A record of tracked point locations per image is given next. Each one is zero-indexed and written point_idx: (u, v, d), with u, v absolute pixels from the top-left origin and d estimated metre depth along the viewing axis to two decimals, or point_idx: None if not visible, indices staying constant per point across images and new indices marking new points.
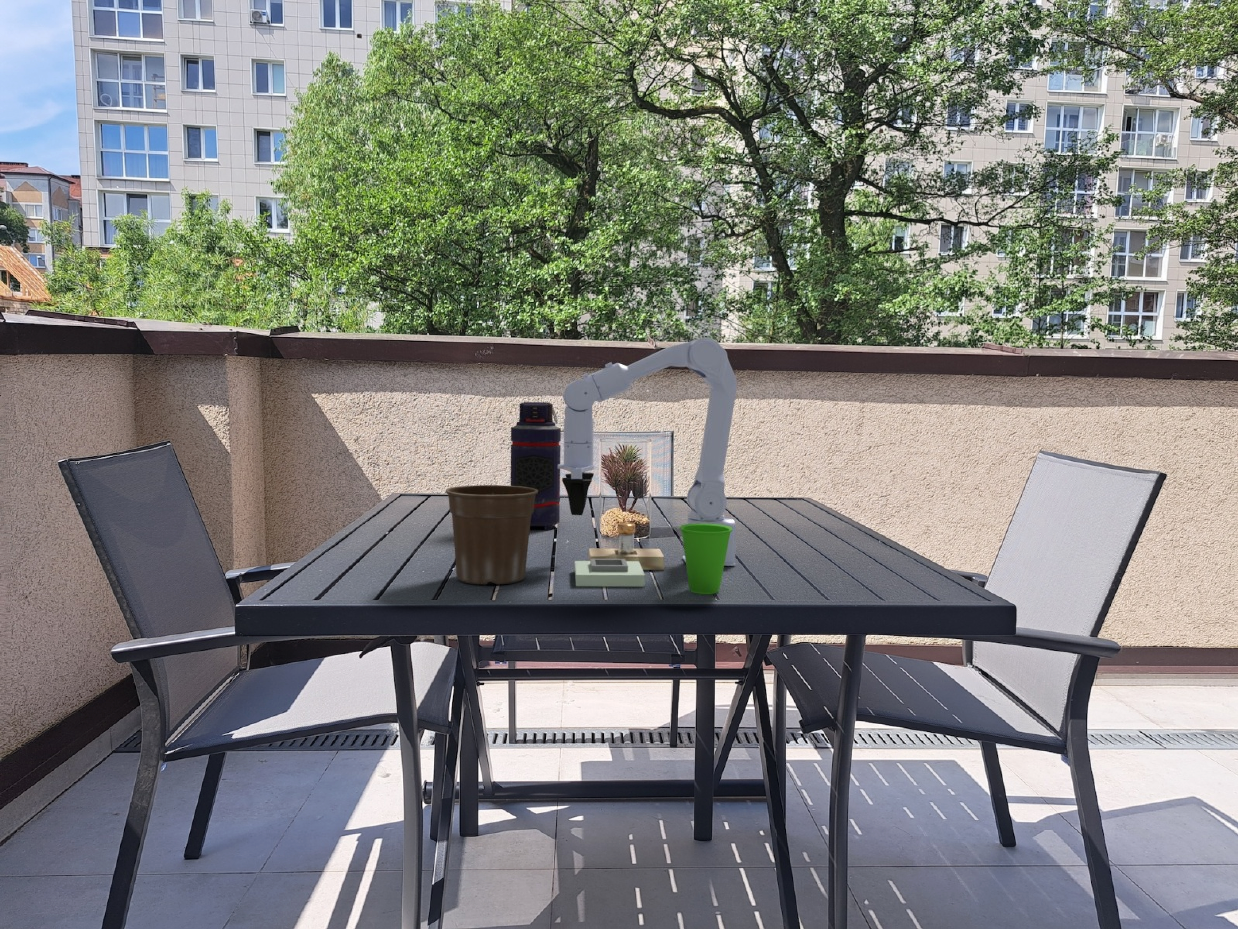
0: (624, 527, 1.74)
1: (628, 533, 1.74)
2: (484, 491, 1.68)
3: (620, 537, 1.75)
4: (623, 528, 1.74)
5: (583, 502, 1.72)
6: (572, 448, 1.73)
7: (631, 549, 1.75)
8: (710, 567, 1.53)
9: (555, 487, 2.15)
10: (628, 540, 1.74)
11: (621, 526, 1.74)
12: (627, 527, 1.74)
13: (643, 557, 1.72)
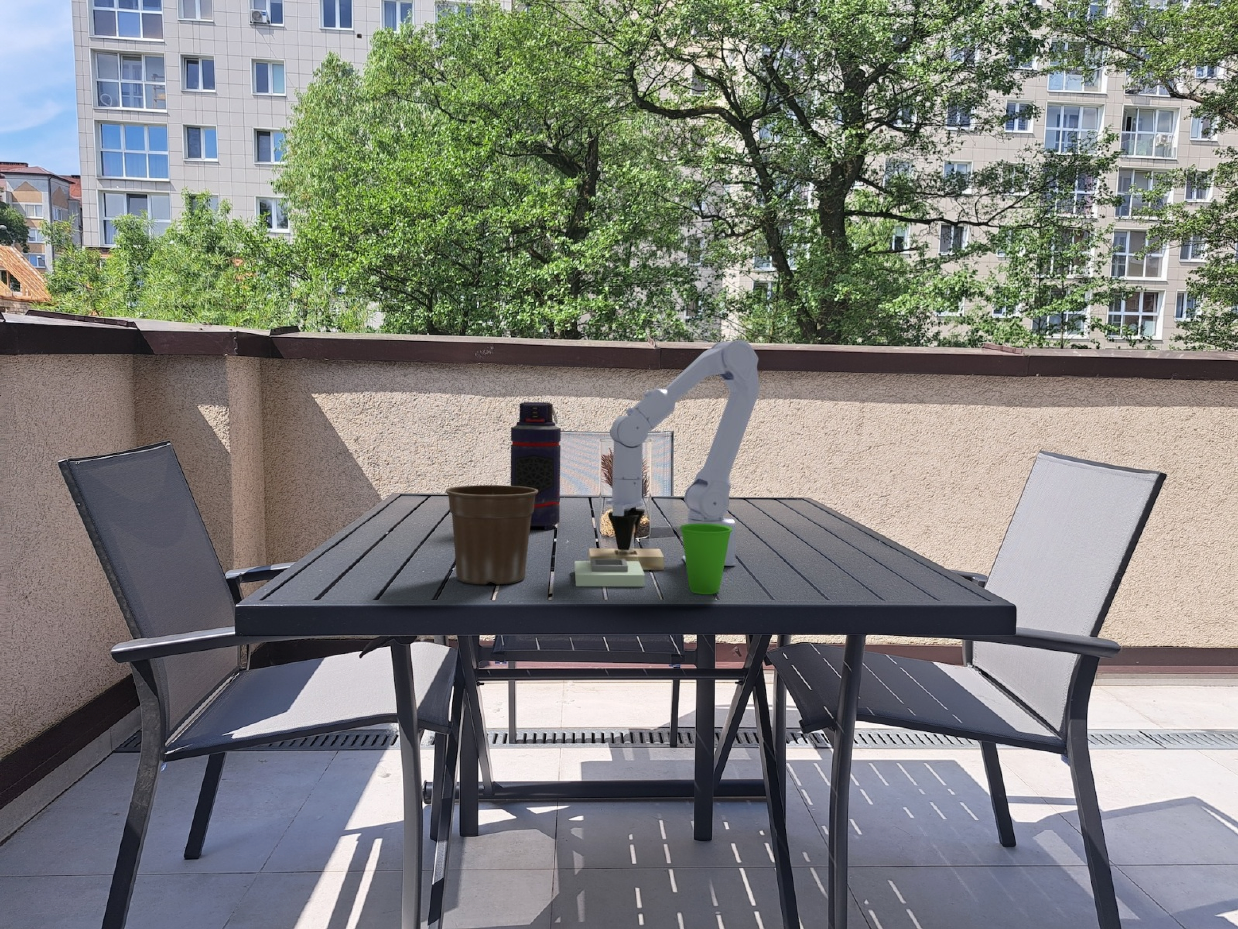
0: None
1: None
2: (484, 491, 1.68)
3: None
4: None
5: (629, 537, 1.73)
6: (619, 484, 1.73)
7: (631, 549, 1.75)
8: (710, 567, 1.53)
9: (555, 487, 2.15)
10: None
11: None
12: None
13: (643, 557, 1.72)
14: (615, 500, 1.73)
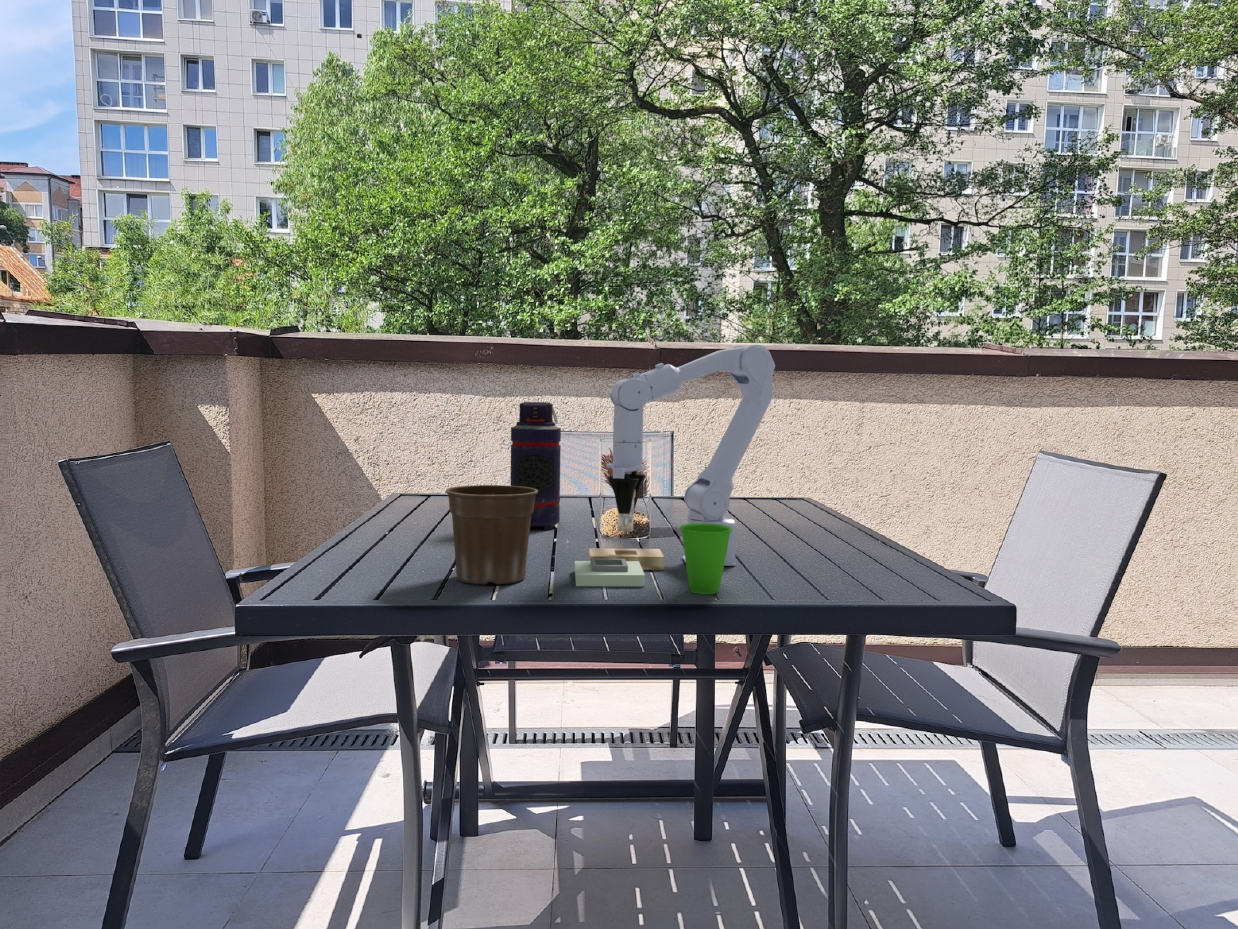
0: None
1: None
2: (484, 491, 1.68)
3: None
4: None
5: (629, 501, 1.72)
6: (619, 448, 1.72)
7: (631, 514, 1.74)
8: (710, 567, 1.53)
9: (555, 487, 2.15)
10: None
11: None
12: None
13: (643, 557, 1.72)
14: (615, 464, 1.73)
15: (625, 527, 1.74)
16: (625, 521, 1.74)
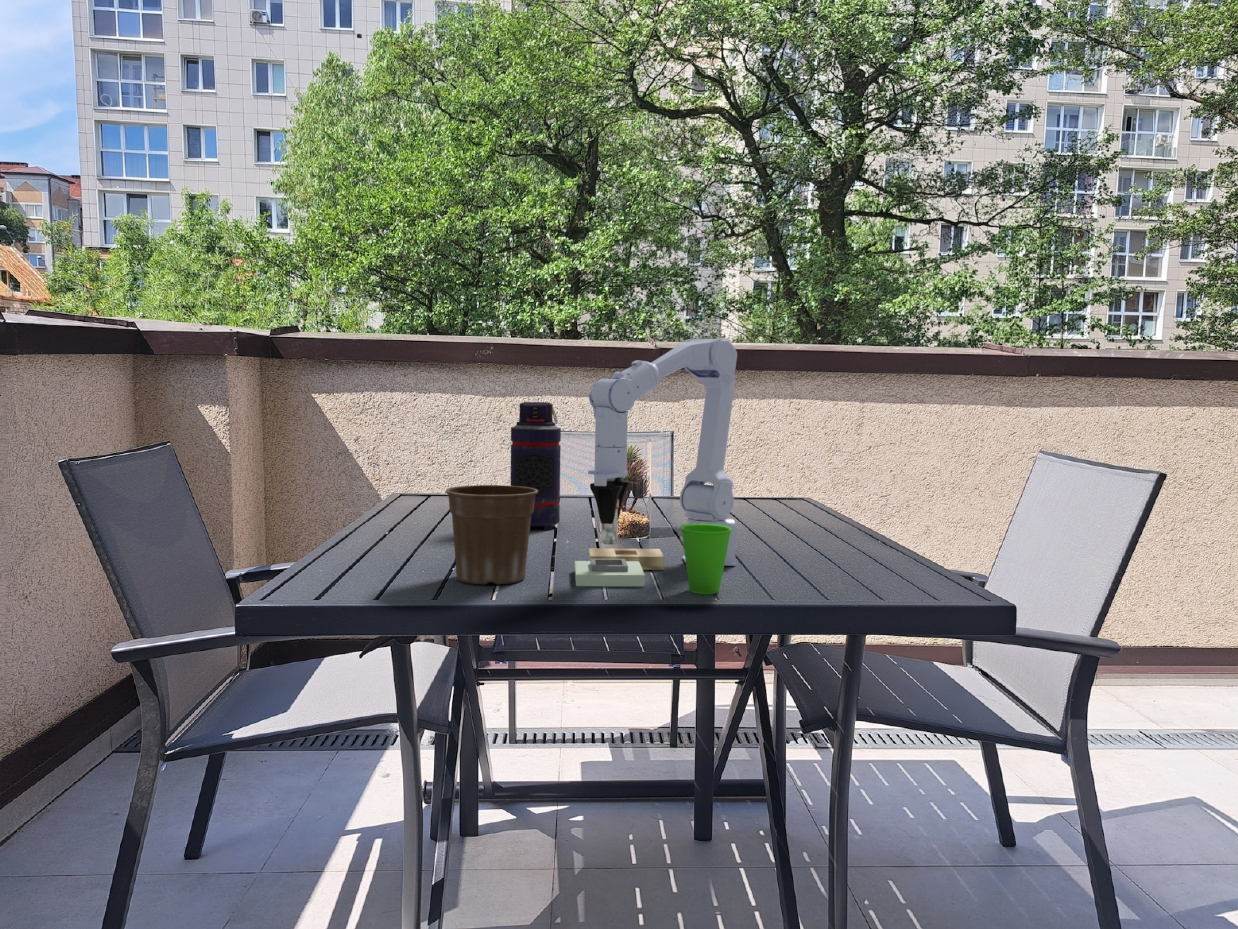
0: None
1: None
2: (484, 491, 1.68)
3: None
4: None
5: (612, 510, 1.60)
6: (601, 453, 1.60)
7: (614, 525, 1.62)
8: (710, 567, 1.53)
9: (555, 487, 2.15)
10: None
11: None
12: None
13: (643, 557, 1.72)
14: (598, 470, 1.60)
15: (608, 539, 1.62)
16: (608, 534, 1.62)
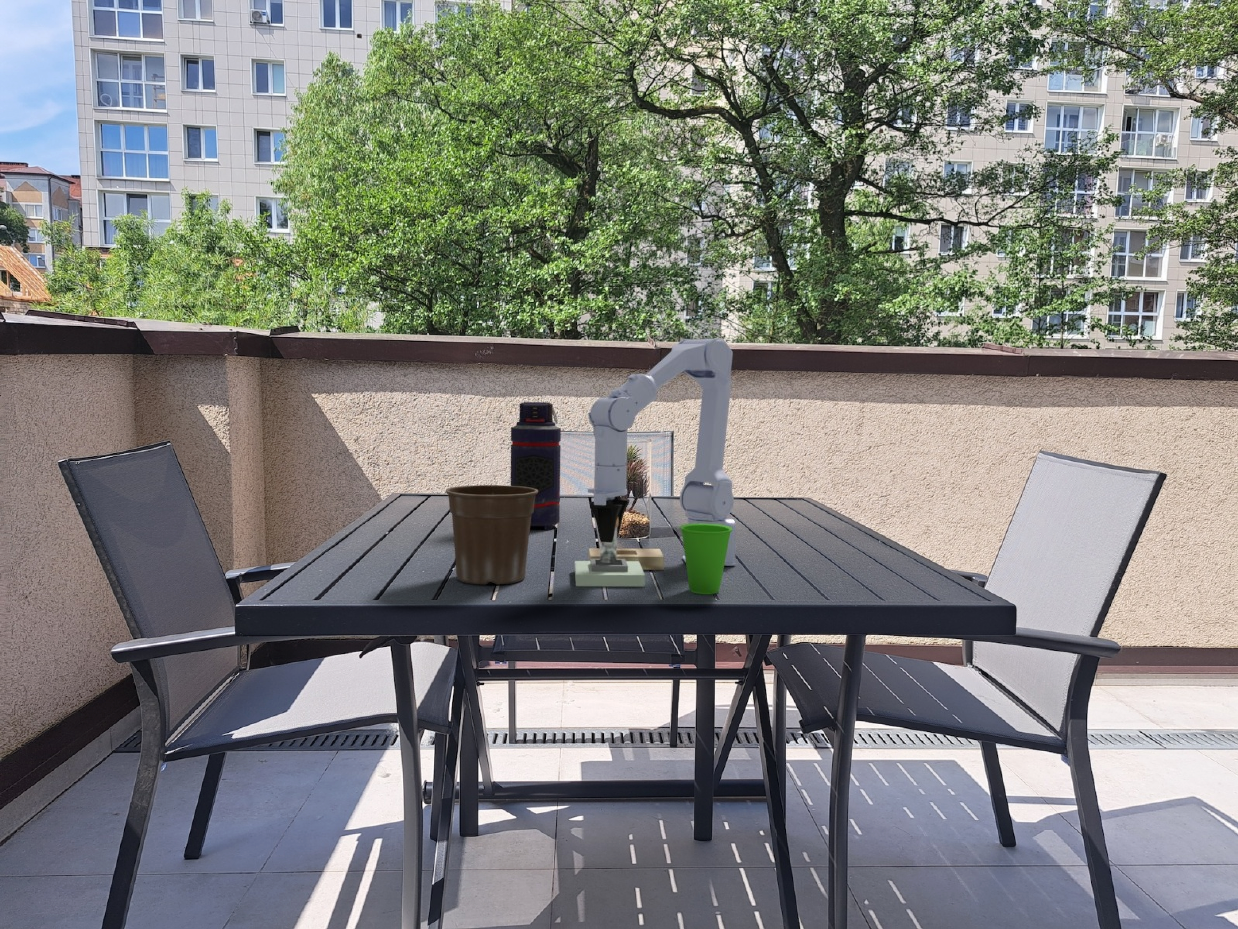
0: None
1: None
2: (484, 491, 1.68)
3: None
4: None
5: (612, 529, 1.60)
6: (601, 471, 1.60)
7: (614, 544, 1.63)
8: (710, 567, 1.53)
9: (555, 487, 2.15)
10: None
11: None
12: None
13: (643, 557, 1.72)
14: (597, 488, 1.61)
15: (607, 558, 1.62)
16: (607, 552, 1.62)
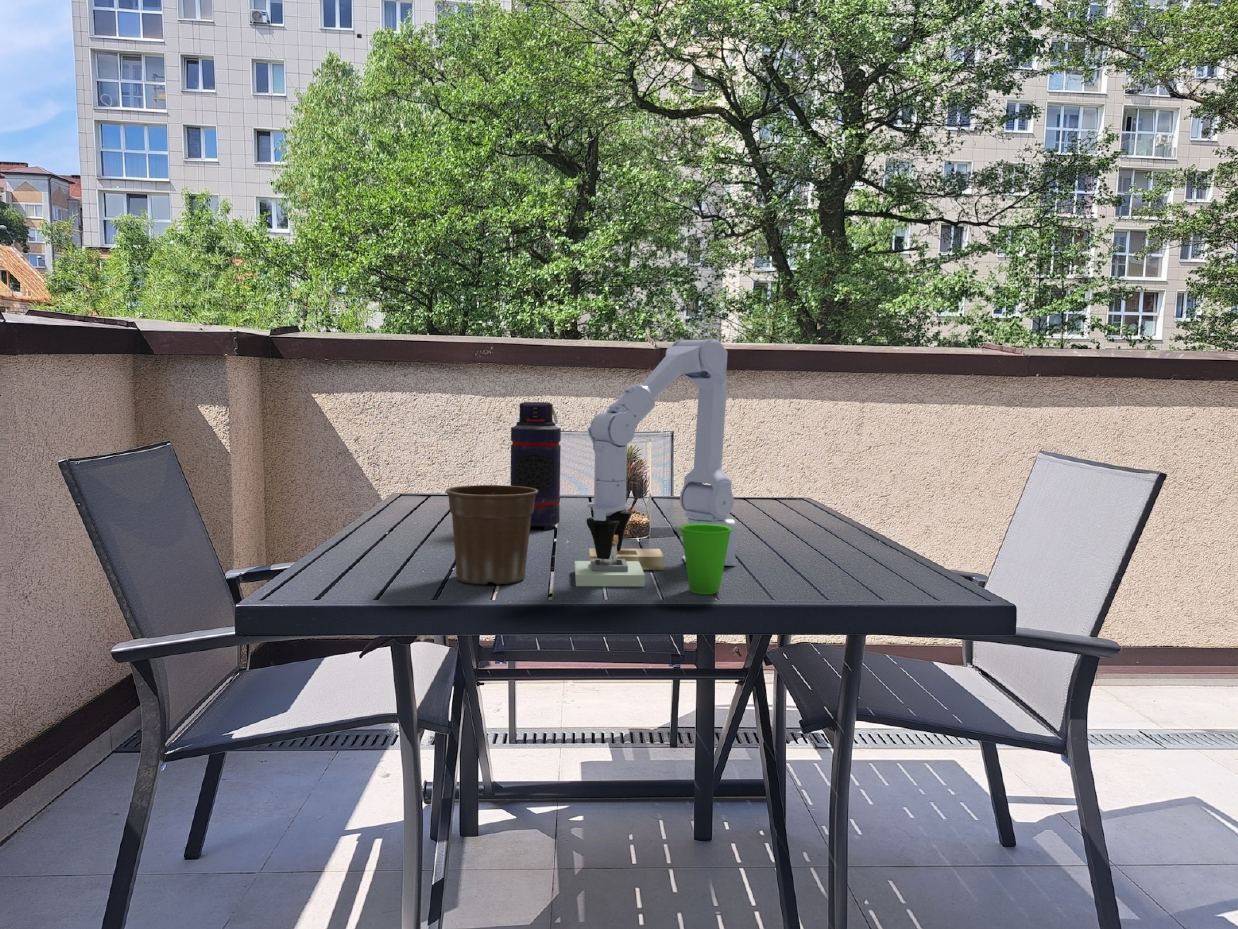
0: None
1: None
2: (484, 491, 1.68)
3: None
4: None
5: (609, 545, 1.59)
6: (601, 486, 1.60)
7: (614, 561, 1.63)
8: (710, 567, 1.53)
9: (555, 487, 2.15)
10: None
11: None
12: None
13: (643, 557, 1.72)
14: (597, 503, 1.61)
15: None
16: None
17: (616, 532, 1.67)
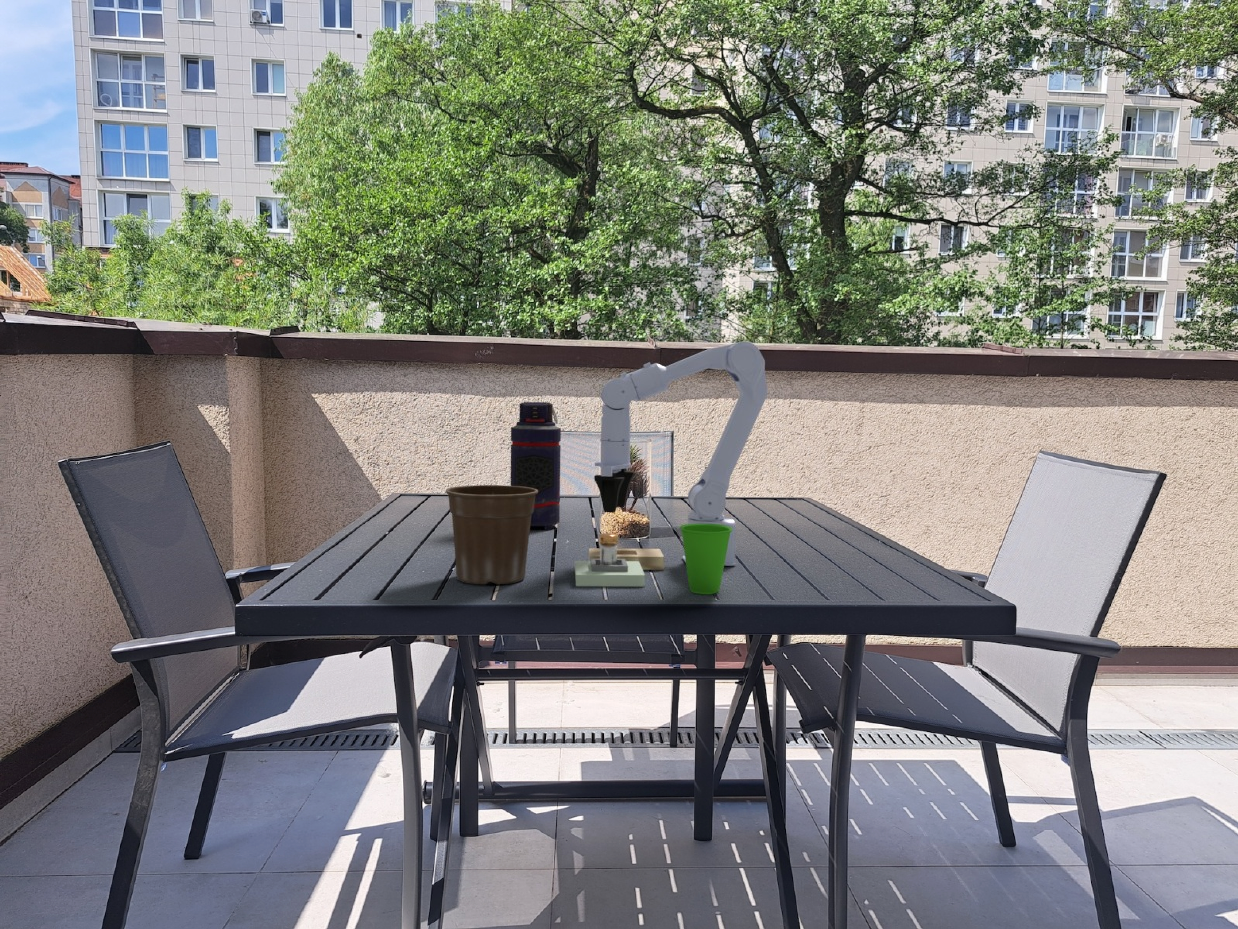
0: (606, 538, 1.62)
1: (610, 544, 1.62)
2: (484, 491, 1.68)
3: (602, 548, 1.63)
4: (605, 539, 1.62)
5: (615, 500, 1.74)
6: (607, 446, 1.75)
7: (614, 561, 1.63)
8: (710, 567, 1.53)
9: (555, 487, 2.15)
10: (610, 551, 1.62)
11: (603, 537, 1.62)
12: (609, 538, 1.62)
13: (643, 557, 1.72)
14: (603, 462, 1.76)
15: None
16: None
17: (620, 489, 1.82)
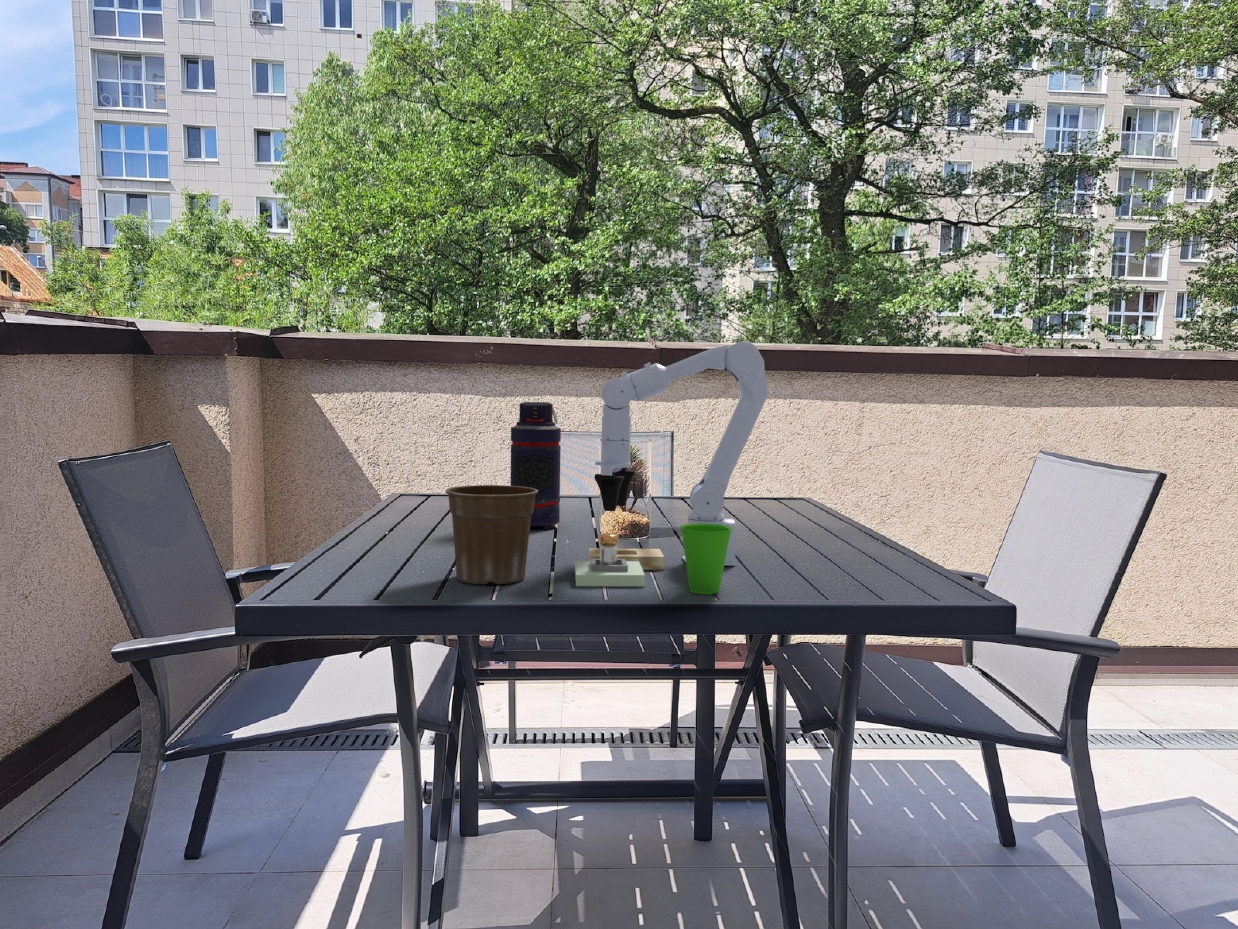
0: (606, 538, 1.62)
1: (610, 544, 1.62)
2: (484, 491, 1.68)
3: (602, 548, 1.63)
4: (605, 539, 1.62)
5: (615, 498, 1.75)
6: (607, 445, 1.77)
7: (614, 561, 1.63)
8: (710, 567, 1.53)
9: (555, 487, 2.15)
10: (610, 551, 1.62)
11: (603, 537, 1.62)
12: (609, 538, 1.62)
13: (643, 557, 1.72)
14: (604, 461, 1.77)
15: None
16: None
17: (621, 488, 1.83)
